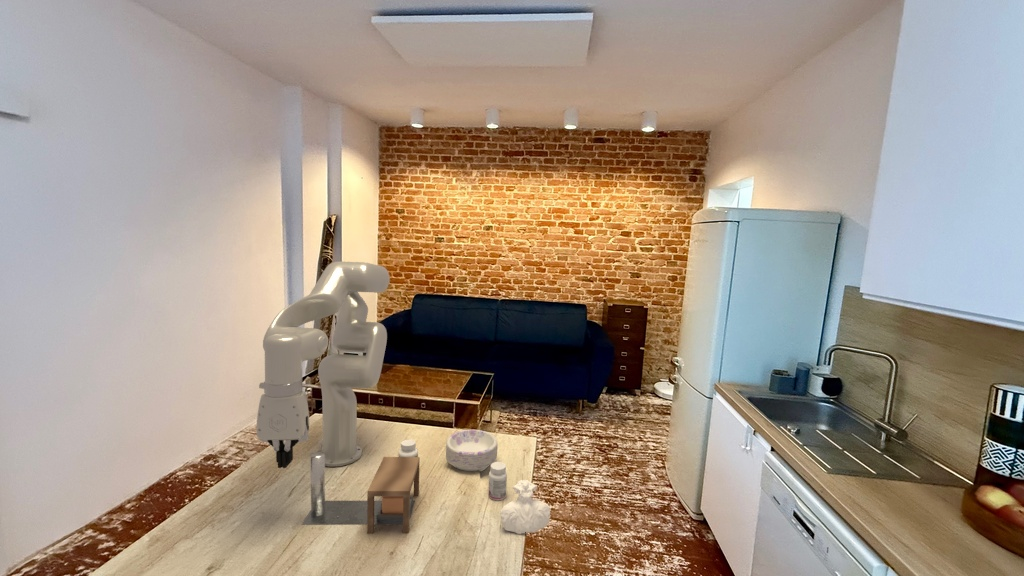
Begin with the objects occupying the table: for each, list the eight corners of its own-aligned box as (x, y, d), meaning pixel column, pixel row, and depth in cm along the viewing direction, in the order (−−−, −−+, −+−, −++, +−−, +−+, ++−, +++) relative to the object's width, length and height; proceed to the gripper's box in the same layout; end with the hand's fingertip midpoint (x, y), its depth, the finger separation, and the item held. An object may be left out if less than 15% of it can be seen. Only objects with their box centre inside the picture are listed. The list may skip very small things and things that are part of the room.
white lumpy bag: (548, 531, 102) (542, 480, 108) (555, 530, 95) (549, 476, 101) (498, 536, 100) (496, 483, 105) (503, 534, 93) (500, 479, 99)
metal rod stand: (301, 528, 96) (300, 465, 94) (317, 504, 105) (316, 445, 103) (408, 528, 97) (409, 465, 96) (415, 504, 106) (415, 446, 105)
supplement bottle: (412, 481, 117) (413, 448, 116) (394, 478, 118) (395, 445, 117) (420, 471, 122) (421, 439, 121) (403, 469, 123) (403, 437, 122)
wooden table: (328, 552, 89) (327, 502, 88) (360, 489, 112) (360, 449, 111) (468, 550, 91) (469, 502, 90) (471, 489, 114) (472, 449, 113)
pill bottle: (487, 490, 114) (488, 460, 113) (505, 490, 114) (506, 460, 114) (488, 501, 109) (489, 470, 108) (506, 500, 110) (508, 470, 109)
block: (382, 518, 99) (382, 498, 98) (386, 505, 104) (387, 486, 103) (403, 518, 99) (403, 498, 99) (407, 505, 104) (407, 486, 104)
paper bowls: (463, 485, 116) (464, 457, 115) (436, 462, 128) (436, 437, 127) (507, 468, 125) (508, 443, 125) (478, 448, 137) (478, 424, 136)
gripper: (240, 393, 92) (241, 473, 94) (310, 394, 93) (311, 473, 95) (258, 382, 100) (259, 457, 101) (323, 383, 101) (323, 457, 102)
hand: (284, 464), depth 98 cm, fingers closed
